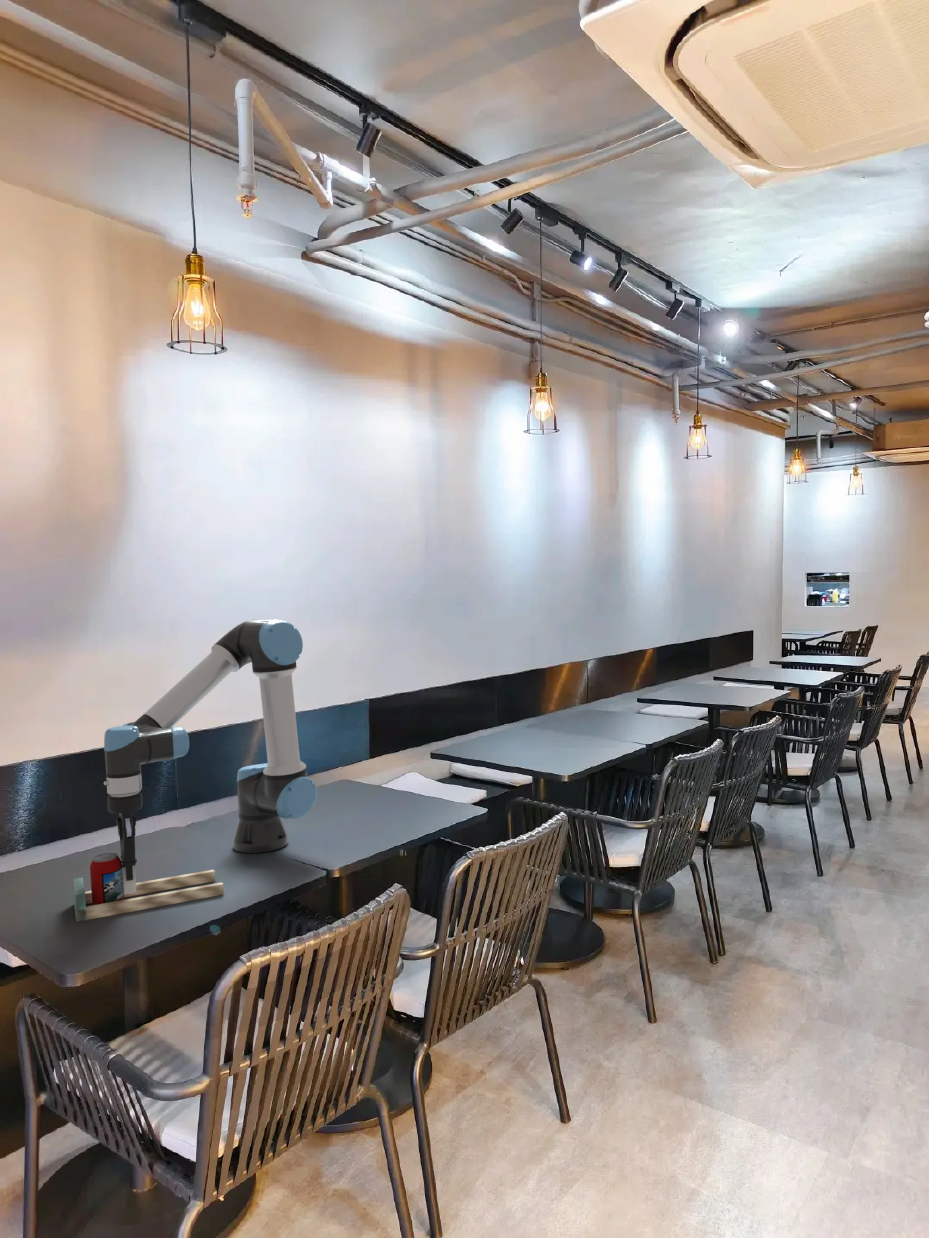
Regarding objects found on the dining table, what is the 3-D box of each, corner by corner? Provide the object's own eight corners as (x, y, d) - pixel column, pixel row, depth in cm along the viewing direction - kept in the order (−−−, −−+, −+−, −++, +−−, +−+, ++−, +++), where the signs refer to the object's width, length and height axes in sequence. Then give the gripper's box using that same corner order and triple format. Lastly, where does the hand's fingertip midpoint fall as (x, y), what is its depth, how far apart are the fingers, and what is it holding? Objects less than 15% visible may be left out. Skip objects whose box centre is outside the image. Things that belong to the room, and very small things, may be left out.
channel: (214, 879, 209) (213, 855, 209) (223, 894, 199) (222, 869, 198) (74, 904, 195) (73, 878, 194) (76, 921, 184) (75, 895, 184)
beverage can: (115, 913, 189) (111, 861, 188) (86, 913, 189) (83, 861, 188) (129, 901, 195) (126, 851, 195) (102, 901, 196) (98, 851, 195)
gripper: (104, 789, 198) (110, 887, 198) (109, 801, 186) (115, 904, 187) (138, 785, 201) (143, 881, 202) (145, 796, 189) (150, 898, 190)
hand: (129, 892), depth 194 cm, fingers closed
